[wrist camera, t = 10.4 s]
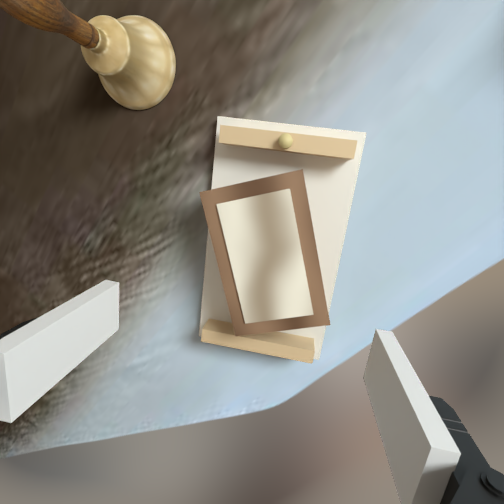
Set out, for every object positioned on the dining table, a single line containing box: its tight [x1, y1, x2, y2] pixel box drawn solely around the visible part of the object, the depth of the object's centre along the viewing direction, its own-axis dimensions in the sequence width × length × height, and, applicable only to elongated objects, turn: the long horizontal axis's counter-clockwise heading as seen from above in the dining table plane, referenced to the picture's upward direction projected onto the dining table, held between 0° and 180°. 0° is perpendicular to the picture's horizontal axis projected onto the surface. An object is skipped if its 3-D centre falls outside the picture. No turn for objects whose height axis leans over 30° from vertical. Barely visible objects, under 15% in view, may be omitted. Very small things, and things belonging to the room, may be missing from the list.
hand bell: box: [0, 0, 176, 110], centre depth 23 cm, size 8×8×16 cm
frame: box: [199, 169, 330, 336], centre depth 30 cm, size 9×14×5 cm, turn 12°
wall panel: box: [199, 116, 366, 363], centre depth 31 cm, size 14×24×4 cm, turn 173°
